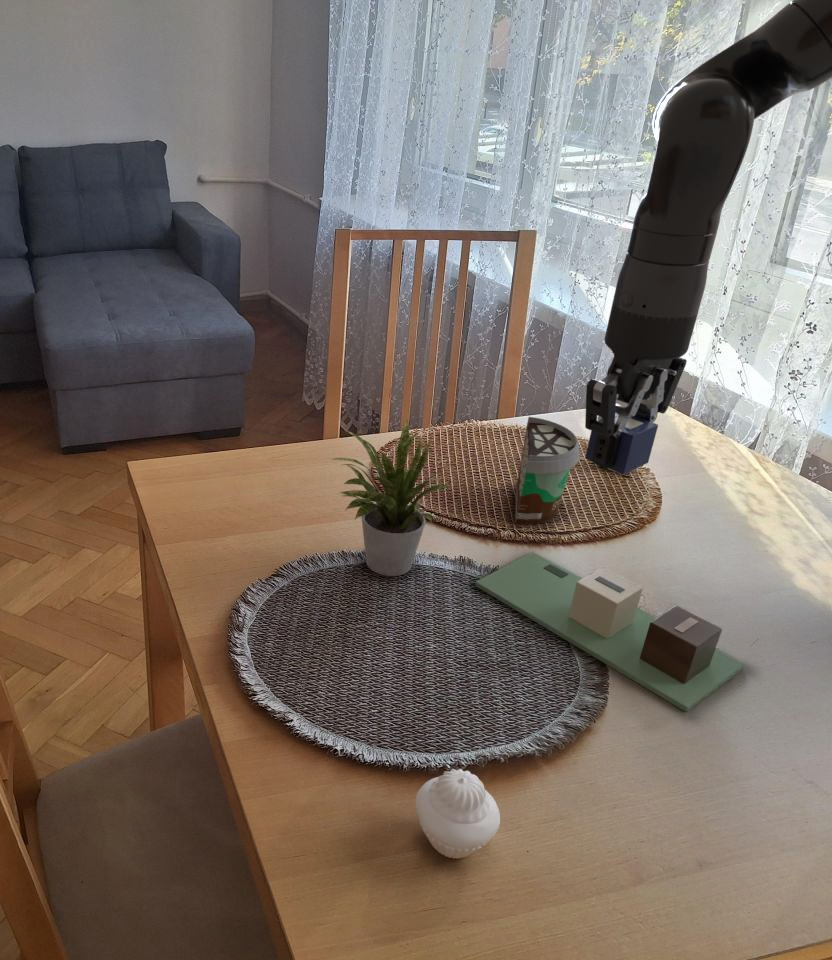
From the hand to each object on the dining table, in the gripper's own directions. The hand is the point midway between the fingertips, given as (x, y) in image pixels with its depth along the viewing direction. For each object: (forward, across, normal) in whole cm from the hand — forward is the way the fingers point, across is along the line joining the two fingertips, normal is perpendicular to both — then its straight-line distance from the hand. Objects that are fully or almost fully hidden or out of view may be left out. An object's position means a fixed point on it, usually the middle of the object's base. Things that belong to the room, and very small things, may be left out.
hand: (617, 457), depth 91 cm
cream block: (+14, -8, -7) cm, 17 cm away
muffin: (+14, -41, -16) cm, 47 cm away
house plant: (+14, -18, +15) cm, 27 cm away
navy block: (0, 0, 0) cm, 0 cm away
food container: (+14, +6, +11) cm, 19 cm away
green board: (+14, -8, -7) cm, 18 cm away
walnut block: (+13, -8, -15) cm, 22 cm away
